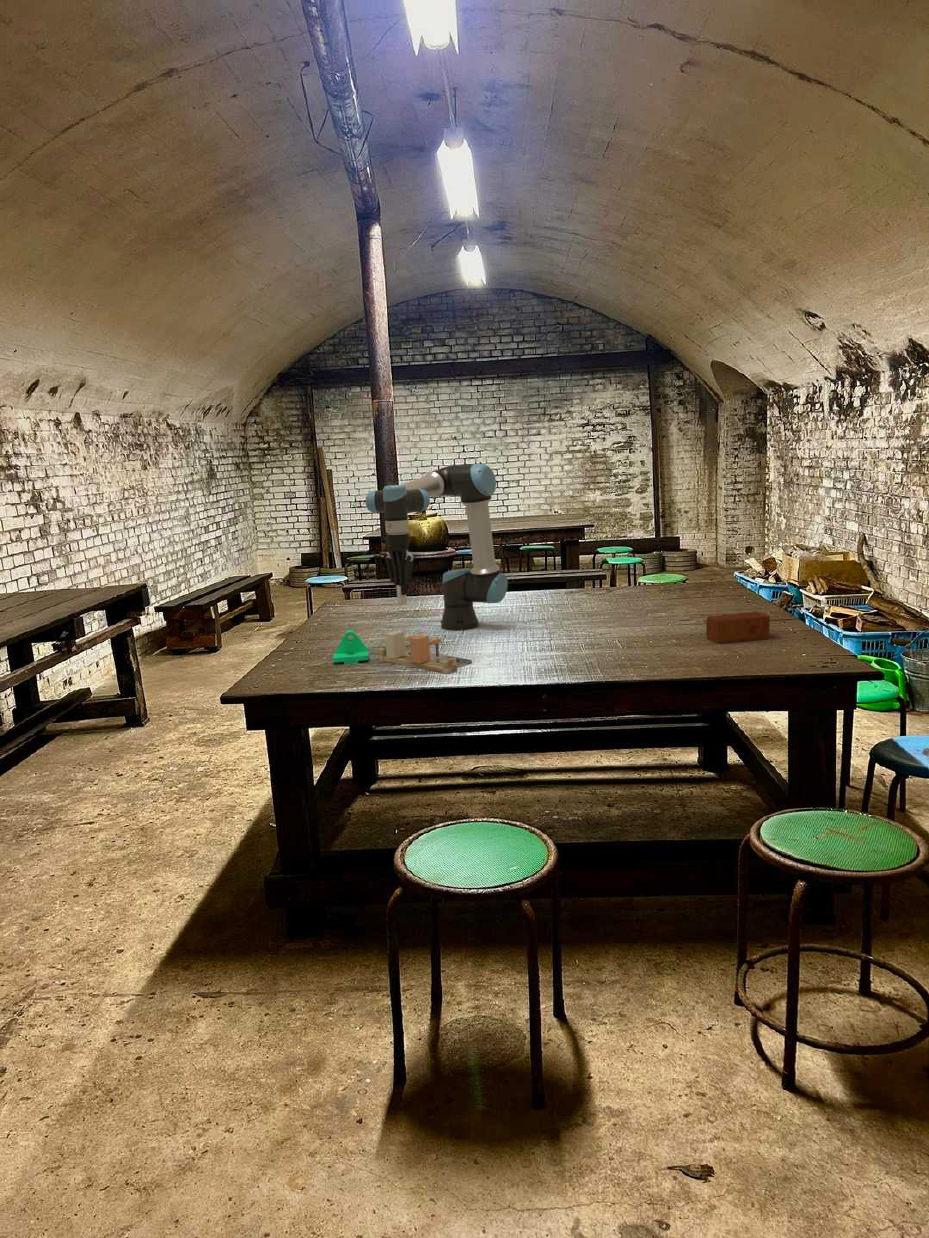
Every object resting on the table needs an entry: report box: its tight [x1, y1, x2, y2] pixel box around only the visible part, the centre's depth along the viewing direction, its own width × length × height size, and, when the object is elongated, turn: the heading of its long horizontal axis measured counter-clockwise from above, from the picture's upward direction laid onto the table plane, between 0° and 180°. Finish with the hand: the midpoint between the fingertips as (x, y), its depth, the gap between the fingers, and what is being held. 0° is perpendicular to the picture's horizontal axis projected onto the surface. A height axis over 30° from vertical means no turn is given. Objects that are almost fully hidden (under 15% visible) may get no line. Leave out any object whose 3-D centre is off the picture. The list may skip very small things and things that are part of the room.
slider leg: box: [409, 634, 442, 664], centre depth 256 cm, size 12×4×8 cm, turn 138°
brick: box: [705, 611, 771, 644], centre depth 268 cm, size 20×8×8 cm, turn 100°
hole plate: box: [404, 650, 473, 669], centre depth 262 cm, size 8×28×1 cm, turn 48°
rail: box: [378, 647, 458, 675], centre depth 256 cm, size 5×32×4 cm, turn 48°
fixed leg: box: [384, 630, 417, 659], centre depth 264 cm, size 12×4×8 cm, turn 138°
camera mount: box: [332, 629, 370, 665], centre depth 266 cm, size 12×8×10 cm, turn 96°
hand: (402, 604), depth 255 cm, fingers closed
